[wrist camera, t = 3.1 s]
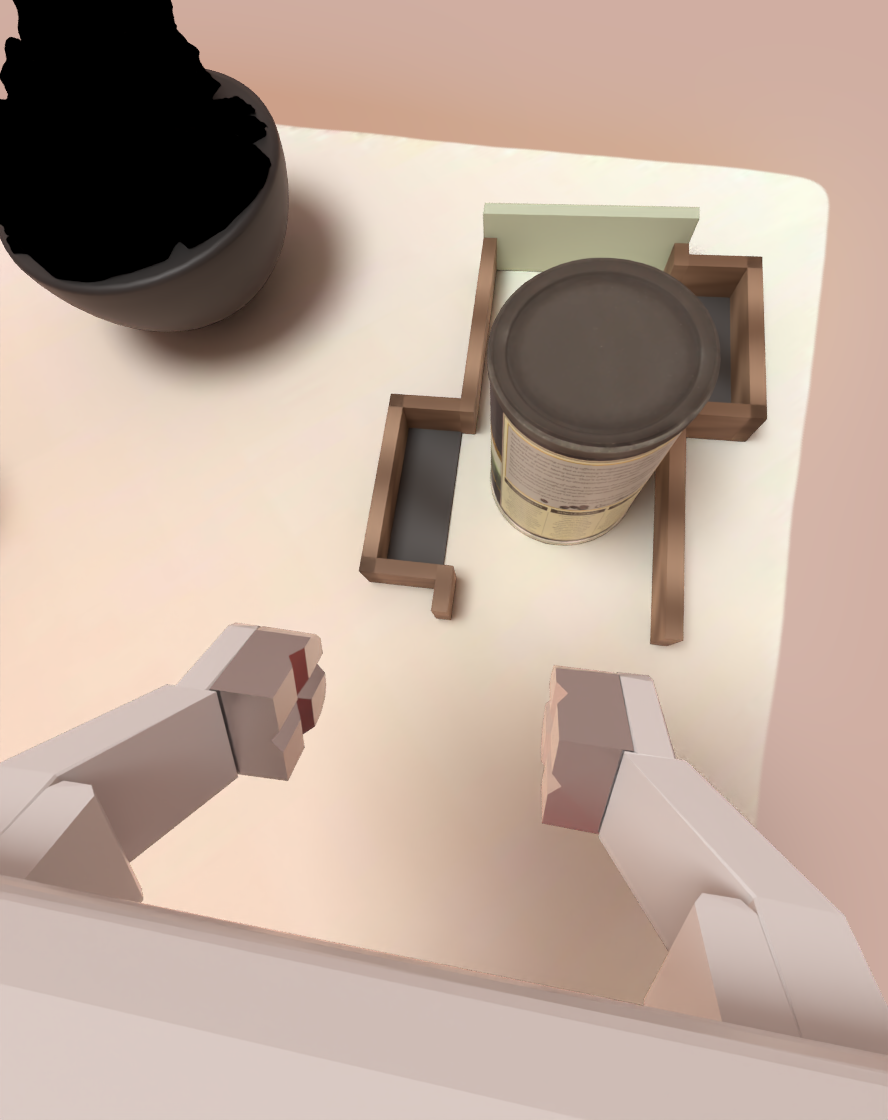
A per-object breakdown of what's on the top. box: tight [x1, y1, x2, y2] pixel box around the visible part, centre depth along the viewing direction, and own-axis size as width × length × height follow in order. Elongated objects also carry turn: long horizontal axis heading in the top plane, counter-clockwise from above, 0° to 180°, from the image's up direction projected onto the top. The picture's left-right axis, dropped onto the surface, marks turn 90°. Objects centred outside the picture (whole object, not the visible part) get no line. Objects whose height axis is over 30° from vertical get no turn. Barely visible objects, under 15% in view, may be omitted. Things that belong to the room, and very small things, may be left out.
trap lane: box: [359, 238, 767, 646], centre depth 36 cm, size 29×25×3 cm
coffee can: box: [487, 258, 721, 545], centre depth 30 cm, size 10×10×14 cm
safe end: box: [483, 203, 700, 271], centre depth 39 cm, size 1×15×5 cm, turn 83°
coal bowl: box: [0, 0, 289, 332], centre depth 35 cm, size 20×20×19 cm
